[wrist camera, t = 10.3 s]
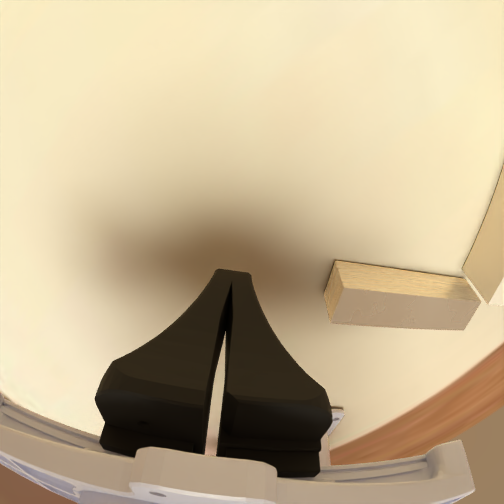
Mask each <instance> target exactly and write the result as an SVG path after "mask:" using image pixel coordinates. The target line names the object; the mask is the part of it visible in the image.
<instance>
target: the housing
mask: <svg viewBox="0 0 504 504" xmlns="http://www.w3.org/2000/svg"><path fill="white" fill-rule="evenodd" d="M462 270H463V271H464V273H465V274H466V275H467V277H468V278H469V279H470V281H471V282H472V283H473V285H474V286H475V287H476V289H477V290H478V291H479V293H480V294H481V296H482V297H483V298H484V300H485V301H486V303H487V304H488V305H498V306H504V165H503V169H502V172H501V175H500V178H499V181H498V184H497V187H496V190H495V193H494V195H493V198H492V201H491V204H490V206H489V209H488V211H487V214H486V216H485V219H484V221H483V224H482V226H481V229H480V231H479V233H478V236H477V238H476V240H475V243H474V245H473V247H472V249H471V251H470V254H469V256H468V258H467V260H466V262H465V264H464V266H463V268H462Z"/></svg>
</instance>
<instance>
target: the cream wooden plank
mask: <svg viewBox="0 0 504 504" xmlns="http://www.w3.org/2000/svg"><path fill="white" fill-rule="evenodd" d="M324 297H325V302H326V306H327V311H328V315H329V320H330V323H336V324H348V325H361V326H376V327H392V328H410V329H434V330H464V329H465V327H466V326H467V324H468V323H469V321H470V319H471V318H472V316H473V315H474V313H475V311H476V310H477V308H478V306H479V305H480V303H481V300H480V299H479V298H478V296H477V295H476V293H475V292H474V290H473V289H472V288H471V286H470V285H469V284H468V282H467V281H466V279H463V278H456V277H449V276H442V275H435V274H428V273H421V272H414V271H407V270H400V269H393V268H386V267H379V266H372V265H365V264H358V263H350V262H343V261H336V260H335V263H334V266H333V269H332V272H331V275H330V278H329V281H328V284H327V287H326V290H325V293H324Z"/></svg>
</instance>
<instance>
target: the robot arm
mask: <svg viewBox="0 0 504 504" xmlns="http://www.w3.org/2000/svg"><path fill="white" fill-rule="evenodd" d="M225 332H226V347H225V384H224V392H223V401H222V410H221V418H220V427H219V436H218V445H217V454H216V456H209V455H204V454H205V446H206V437H207V429H208V421H209V413H210V405H211V398H212V390H213V383H214V377H215V372H216V368H217V364H218V360H219V356H220V352H221V348H222V344H223V340H224V336H225ZM95 402H96V405H97V407H98V409H99V411H100V413H101V415H102V417H103V419H104V421H105V425H104V428H103V431H102V434H101V437H100V436H97V435H93V434H90V433H87V432H84V431H81V430H78V429H75V428H73V427H70V426H67V425H64V424H62V423H59V422H56V421H54V420H51V419H49V418H46V417H44V416H41V415H39V414H37V413H34V412H32V411H30V410H28V409H25V408H23V407H21V406H19V405H17V404H15V403H12V402H10V401H8V400H6V399H4V397H3V395H2V393H1V392H0V463H1V464H2V465H4V466H6V467H7V468H9V469H11V470H13V471H14V472H16V473H18V474H20V475H21V476H23V477H25V478H27V479H29V480H30V481H33V482H34V483H36V484H38V485H40V486H42V487H44V488H46V489H48V490H50V491H52V492H54V493H56V494H59V495H61V496H63V497H65V498H67V499H70V500H72V501H75V502H77V503H78V504H452V503H454V502H456V501H458V500H460V499H462V498H463V497H465V496H467V495H469V494H471V493H472V492H474V491H475V486H474V482H473V479H472V475H471V471H470V468H469V465H468V460H467V457H466V454H465V450H464V447H463V444H462V441H461V440H457V441H452V442H448V443H443V444H440V445H437V446H435V447H433V448H432V449H431V450H429V451H428V452H427V453H426V454H425V455H420V456H414V457H409V458H402V459H396V460H389V461H381V462H372V463H362V464H350V465H334V466H331V462H330V452H329V442H328V436H329V435H330V433H331V432H332V431H333V430H334V428H335V427H336V426H337V425H338V423H339V422H340V421H341V419H342V418H343V417H344V415H345V414H344V410H342V409H331V406H330V402H329V399H328V396H327V393H326V391H325V389H324V388H323V387H322V386H320V385H319V384H318V383H317V382H316V381H315V380H313V379H312V378H311V377H310V376H309V375H308V374H307V373H306V372H305V371H304V370H303V369H302V368H301V367H300V366H299V365H298V364H297V363H296V361H295V360H294V359H293V358H292V357H291V356H290V354H289V353H288V352H287V351H286V349H285V348H284V347H283V345H282V344H281V342H280V341H279V340H278V338H277V336H276V335H275V333H274V332H273V330H272V328H271V327H270V325H269V323H268V321H267V319H266V317H265V315H264V313H263V311H262V309H261V306H260V304H259V302H258V299H257V296H256V294H255V291H254V287H253V284H252V279H251V275H250V274H249V273H246V272H238V271H231V270H224V269H217V270H216V271H215V273H214V275H213V277H212V278H211V280H210V282H209V283H208V284H207V286H206V287H205V289H204V290H203V291H202V293H201V294H200V295H199V297H198V298H197V299H196V300H195V301H194V302H193V304H192V305H191V306H190V307H189V308H188V309H187V310H186V311H185V312H184V313H183V314H182V315H181V316H180V317H179V318H178V319H177V320H176V321H175V322H174V323H173V324H172V325H170V326H169V327H168V328H167V329H165V330H164V331H163V332H162V333H160V334H159V335H158V336H156V337H155V338H154V339H152V340H150V341H149V342H147V343H146V344H144V345H143V346H141V347H139V348H138V349H136V350H134V351H133V352H131V353H129V354H127V355H125V356H123V357H121V358H119V359H116V360H114V361H113V362H112V363H111V365H110V366H109V368H108V369H107V371H106V373H105V374H104V376H103V378H102V380H101V382H100V385H99V388H98V390H97V393H96V396H95Z"/></svg>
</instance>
